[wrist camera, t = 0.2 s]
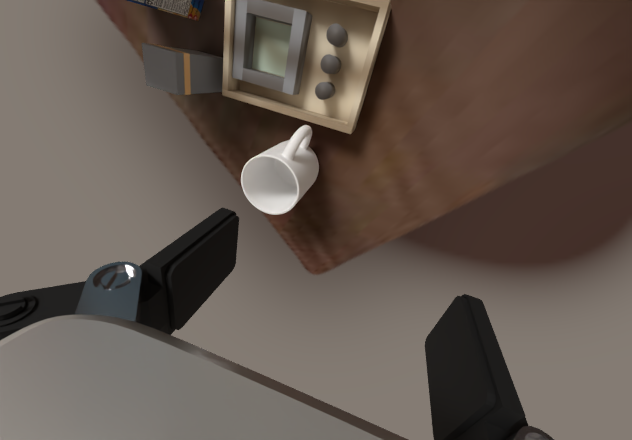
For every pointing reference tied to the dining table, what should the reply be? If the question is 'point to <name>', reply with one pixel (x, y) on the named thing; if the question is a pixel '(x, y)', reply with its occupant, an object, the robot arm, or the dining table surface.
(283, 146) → the mug
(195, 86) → the block
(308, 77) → the box
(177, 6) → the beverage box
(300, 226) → the dining table surface
